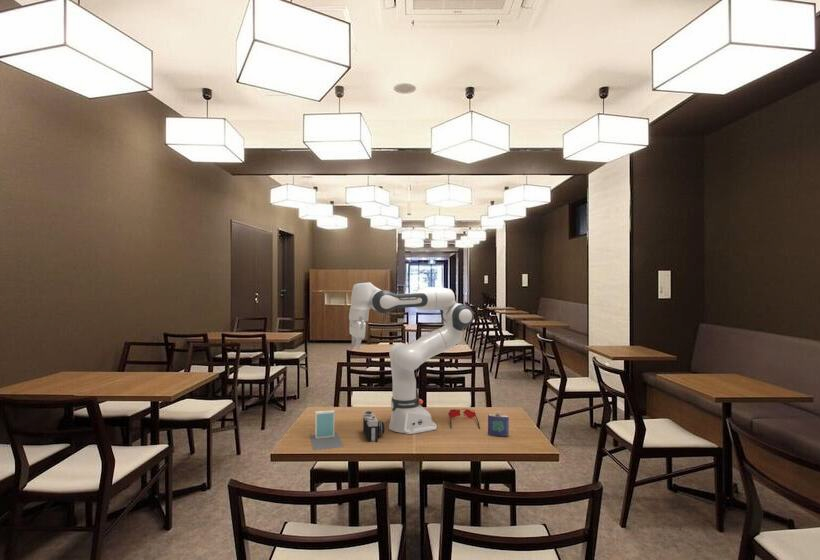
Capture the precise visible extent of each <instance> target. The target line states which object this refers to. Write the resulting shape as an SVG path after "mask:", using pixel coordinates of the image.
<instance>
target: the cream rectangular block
mask: <svg viewBox="0 0 820 560" xmlns="http://www.w3.org/2000/svg"><path fill="white" fill-rule="evenodd" d="M335 418H336V417H335V410H334V409H332V410H331V409H330V410H319V411H318V410H317V411H316V410H315V419H314V424H315V425H314V426H315V428H314V429H315V431H314V435H315V438H327V437H334V433H335Z"/></svg>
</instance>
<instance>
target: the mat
mask: <svg viewBox="0 0 820 560" xmlns="http://www.w3.org/2000/svg"><path fill="white" fill-rule="evenodd" d="M309 436H310V441H311V446H312V450H313V451H318V450H327V449H329V450H330V449H338V448H340V449H341V448H344V446H343V443H342V440H341V438H340V436H339V433H338V432H334V437H327V438H315V434H309Z"/></svg>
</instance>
